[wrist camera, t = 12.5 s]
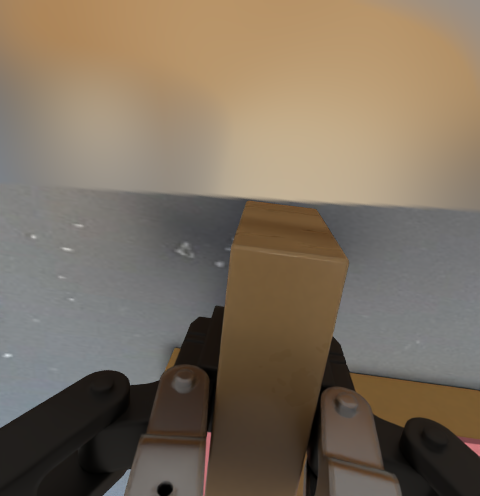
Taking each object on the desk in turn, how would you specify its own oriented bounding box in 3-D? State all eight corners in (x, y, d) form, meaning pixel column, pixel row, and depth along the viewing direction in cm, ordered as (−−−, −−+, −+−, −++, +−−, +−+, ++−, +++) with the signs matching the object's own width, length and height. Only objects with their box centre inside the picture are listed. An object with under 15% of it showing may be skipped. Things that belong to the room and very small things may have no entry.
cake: (322, 368, 23) (336, 424, 18) (507, 393, 22) (565, 457, 18) (293, 496, 27) (299, 567, 22) (450, 519, 26) (487, 596, 22)
